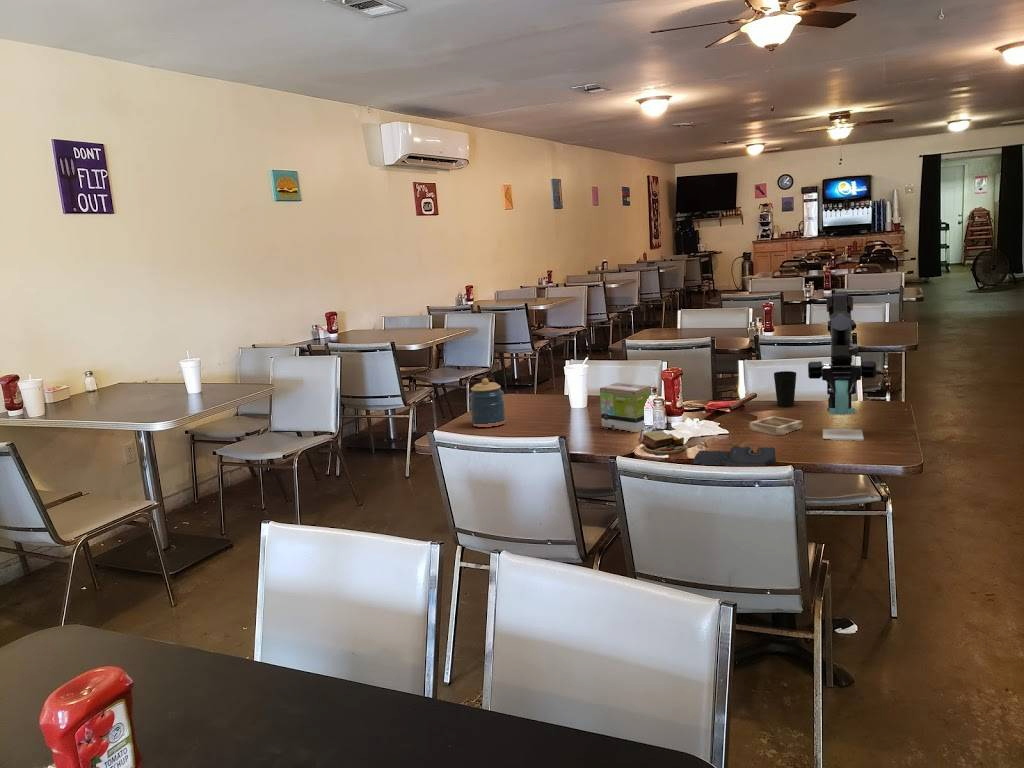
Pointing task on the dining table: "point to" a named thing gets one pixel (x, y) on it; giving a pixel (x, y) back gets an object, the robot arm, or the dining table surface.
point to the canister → (487, 403)
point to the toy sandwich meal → (662, 443)
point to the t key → (841, 399)
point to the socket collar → (784, 426)
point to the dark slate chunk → (737, 457)
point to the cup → (785, 388)
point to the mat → (843, 434)
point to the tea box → (624, 405)
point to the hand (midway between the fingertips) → (841, 392)
